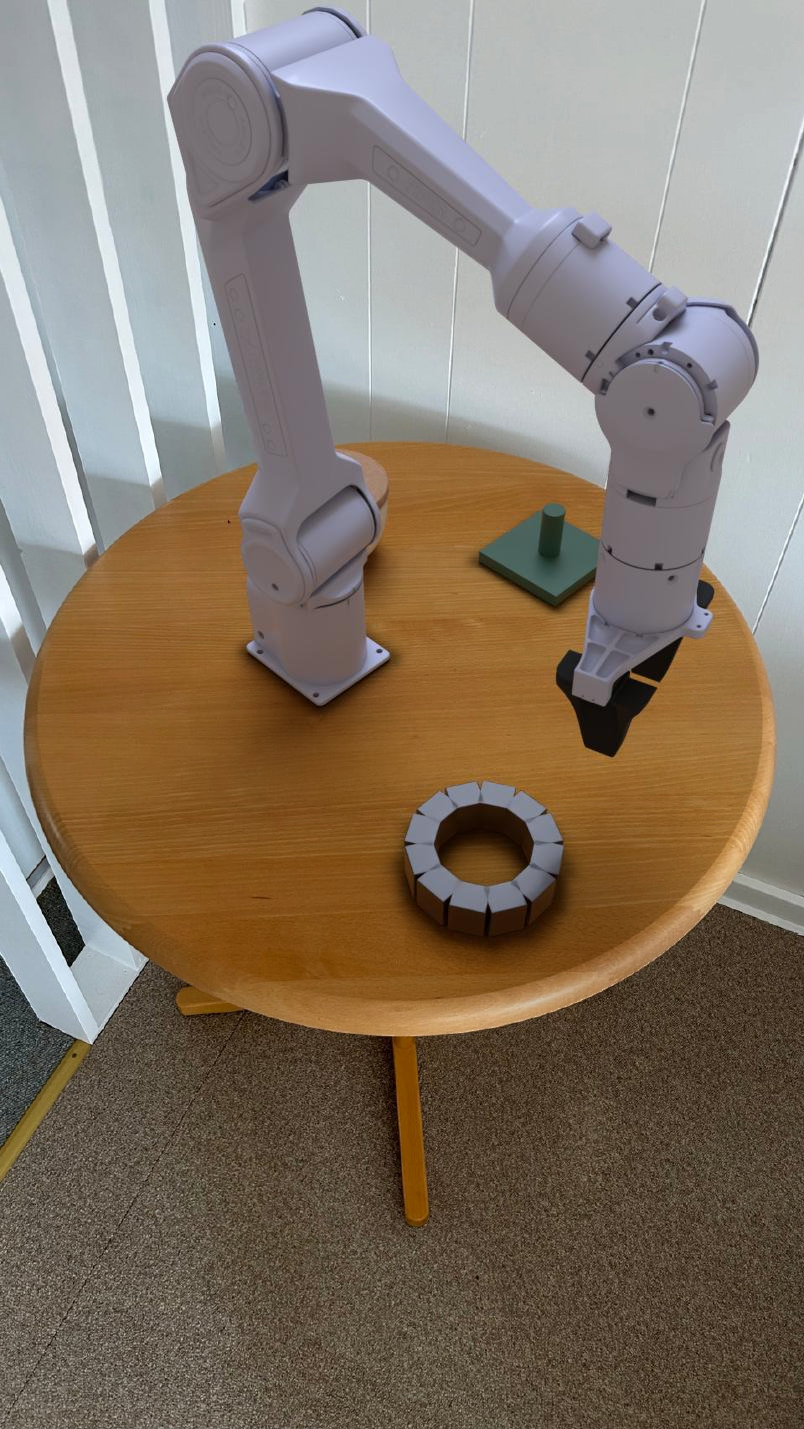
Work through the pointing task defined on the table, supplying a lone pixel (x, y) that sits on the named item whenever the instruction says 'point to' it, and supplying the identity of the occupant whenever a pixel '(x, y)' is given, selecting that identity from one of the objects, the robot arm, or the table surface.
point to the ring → (472, 902)
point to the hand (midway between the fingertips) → (624, 710)
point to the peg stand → (545, 555)
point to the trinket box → (373, 486)
